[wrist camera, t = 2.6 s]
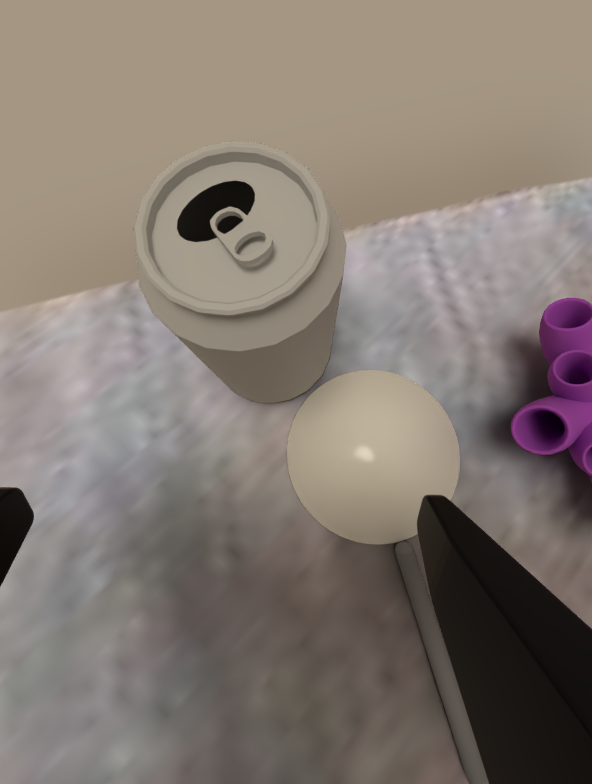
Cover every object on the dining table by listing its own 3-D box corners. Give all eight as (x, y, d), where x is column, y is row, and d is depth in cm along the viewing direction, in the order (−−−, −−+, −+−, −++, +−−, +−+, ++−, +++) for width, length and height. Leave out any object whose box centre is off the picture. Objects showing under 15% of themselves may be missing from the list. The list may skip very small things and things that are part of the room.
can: (283, 274, 23) (254, 80, 12) (354, 357, 22) (404, 230, 10) (192, 340, 23) (65, 203, 11) (260, 430, 21) (197, 383, 10)
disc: (483, 515, 20) (487, 516, 19) (313, 564, 19) (313, 566, 19) (422, 353, 22) (424, 351, 21) (268, 396, 22) (268, 395, 21)
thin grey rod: (485, 775, 17) (496, 794, 16) (466, 781, 17) (475, 800, 16) (407, 537, 20) (412, 540, 19) (390, 542, 20) (394, 546, 19)
